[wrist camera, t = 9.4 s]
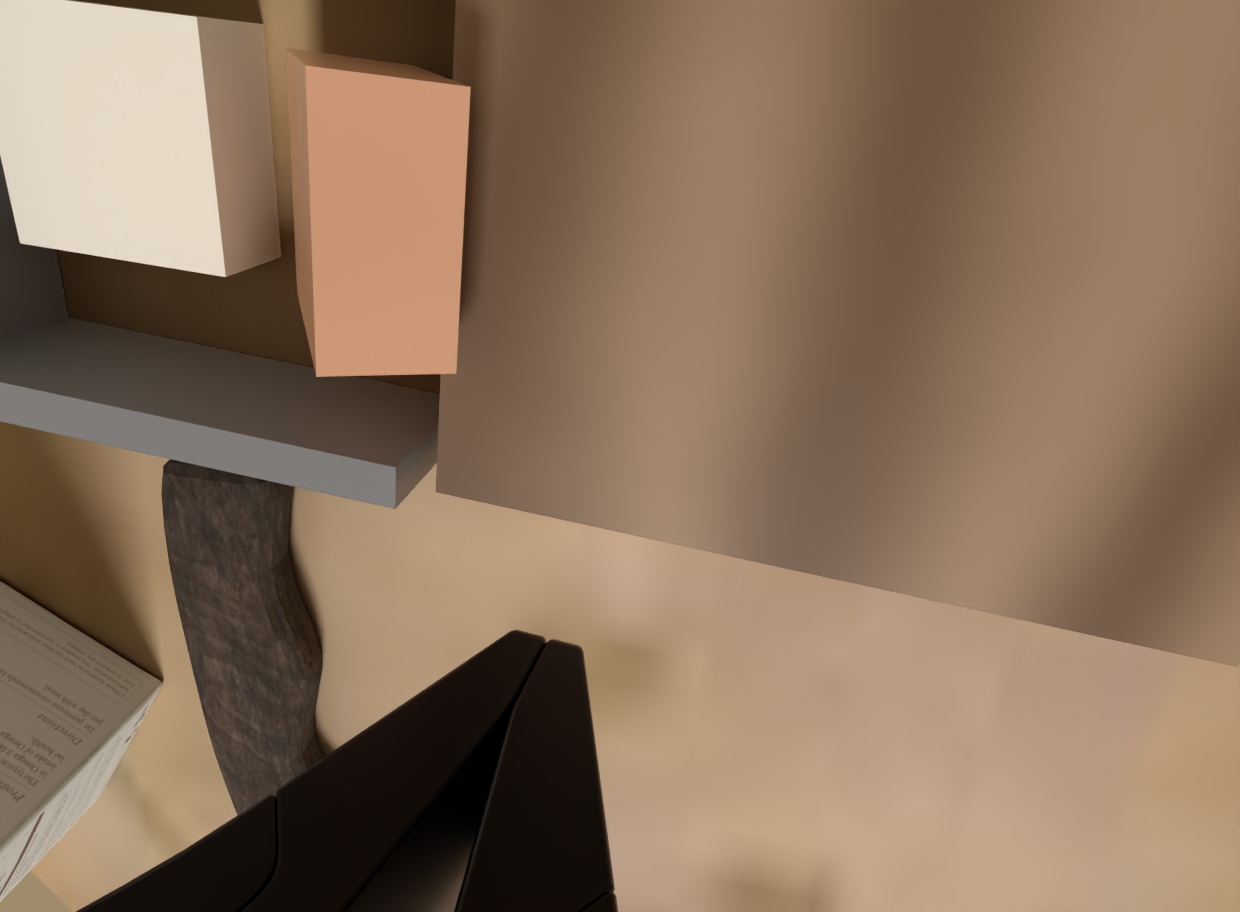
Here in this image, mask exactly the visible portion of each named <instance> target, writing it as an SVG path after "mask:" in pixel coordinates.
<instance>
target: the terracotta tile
mask: <svg viewBox="0 0 1240 912" xmlns="http://www.w3.org/2000/svg"><path fill="white" fill-rule="evenodd" d="M286 56H287V78H288V101H289V123H290V146H291V168H292V190H293V213H294V235H295V258H296V280H297V295H298V299H299V303H300V308H301V312H302V316H303V321H304V325H305V330H306V334H307V338H308V343H309V347H310V351H311V356H312V360H313V365H314V369H315V373H316V377H325V376H370V375H416V374H456V369H457V349H458V329H459V309H460V289H461V269H462V249H463V229H464V209H465V189H466V169H467V149H468V129H469V109H470V89H471V87H470V86H467V85H464V84H462V83H459V82H456V81H454V80H451V79H448V78H446V77H443V76H440V75H438V74H435V73H432V72H430V71H427V70H424V69H422V68H419V67H416V66H414V65H407V64H400V63H392V62H385V61H378V60H370V59H363V58H356V57H348V56H341V55H334V54H326V53H319V52H312V51H304V50H297V49H290V48H286Z"/></svg>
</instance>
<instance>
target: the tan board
mask: <svg viewBox="0 0 1240 912" xmlns="http://www.w3.org/2000/svg"><path fill="white" fill-rule="evenodd" d="M452 80H454V81H456V82H459V83H462V84H464V85H467V86H470V87H471V89H470V109H469V129H468V149H467V169H466V189H465V209H464V229H463V249H462V269H461V289H460V309H459V329H458V349H457V369H456V374H441V376H440V400H439V425H438V450H437V475H436V492H438V493H442V494H447V495H452V496H456V497H461V498H465V499H470V500H475V501H479V502H484V503H488V504H493V505H497V506H502V507H507V508H511V509H516V510H520V511H525V512H530V513H534V514H539V515H543V516H548V517H552V518H557V519H562V520H566V521H571V522H575V523H580V524H585V525H589V526H594V527H598V528H603V529H607V530H612V531H617V532H621V533H626V534H630V535H635V536H640V537H644V538H649V539H653V540H658V541H663V542H667V543H672V544H676V545H681V546H685V547H690V548H695V549H699V550H704V551H708V552H713V553H718V554H722V555H727V556H731V557H736V558H740V559H745V560H750V561H754V562H759V563H763V564H768V565H773V566H777V567H782V568H786V569H791V570H795V571H800V572H805V573H809V574H814V575H818V576H823V577H828V578H832V579H837V580H841V581H846V582H851V583H855V584H860V585H864V586H869V587H873V588H878V589H883V590H887V591H892V592H896V593H901V594H906V595H910V596H915V597H919V598H924V599H928V600H933V601H938V602H942V603H947V604H951V605H956V606H961V607H965V608H970V609H974V610H979V611H983V612H988V613H993V614H997V615H1002V616H1006V617H1011V618H1016V619H1020V620H1025V621H1029V622H1034V623H1039V624H1043V625H1048V626H1052V627H1057V628H1061V629H1066V630H1071V631H1075V632H1080V633H1084V634H1089V635H1094V636H1098V637H1103V638H1107V639H1112V640H1116V641H1121V642H1126V643H1130V644H1135V645H1139V646H1144V647H1149V648H1153V649H1158V650H1162V651H1167V652H1171V653H1176V654H1181V655H1185V656H1190V657H1194V658H1199V659H1204V660H1208V661H1213V662H1217V663H1222V664H1227V665H1231V666H1236V667H1238V665H1239V664H1240V0H456V5H455V29H454V54H453V79H452Z"/></svg>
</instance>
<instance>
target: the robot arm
mask: <svg viewBox="0 0 1240 912" xmlns="http://www.w3.org/2000/svg"><path fill="white" fill-rule="evenodd" d="M76 912H618V907H617V900H616V895H615V894H614V880H613V873H612V865H611V857H610V850H609V842H608V835H607V827H606V820H605V812H604V805H603V797H602V789H601V782H600V774H599V767H598V759H597V752H596V744H595V736H594V729H593V721H592V714H591V706H590V699H589V691H588V683H587V676H586V668H585V661H584V653H583V650H582V648H581V647H580V646H578V645H575V644H571V643H567V642H563V641H559V640H555V639H552V640H549V641H548V642H547V641H546V639H545V638H544V637H543V636H539V635H536V634H532V633H528V632H524V631H520V630H514V631H511V632H509V633H507V634H506V635H504V636H503V637H501V638H500V639H498V640H497V641H495V642H494V643H493V644H491V645H490V646H488V647H487V648H485V649H484V650H482V651H481V652H479V653H478V654H476V655H475V656H473V657H472V658H470V659H469V660H467V661H466V662H464V663H463V664H461V665H460V666H459V667H457V668H456V669H454V670H453V671H451V672H450V673H448V674H447V675H445V676H444V677H442V678H441V679H439V680H438V681H436V682H435V683H433V684H432V685H430V686H429V687H427V688H426V689H425V690H423V691H422V692H420V693H419V694H417V695H416V696H414V697H413V698H411V699H410V700H408V701H407V702H405V703H404V704H402V705H401V706H399V707H398V708H396V709H395V710H393V711H392V712H391V713H389V714H388V715H386V716H385V717H383V718H382V719H380V720H379V721H377V722H376V723H374V724H373V725H371V726H370V727H368V728H367V729H365V730H364V731H362V732H361V733H359V734H358V735H357V736H355V737H354V738H352V739H351V740H349V741H348V742H346V743H345V744H343V745H342V746H340V747H339V748H337V749H336V750H334V751H333V752H331V753H330V754H328V755H327V756H325V757H324V758H323V759H321V760H320V761H318V762H317V763H315V764H314V765H312V766H311V767H309V768H308V769H306V770H305V771H303V772H302V773H300V774H299V775H297V776H296V777H294V778H293V779H291V780H290V781H289V782H287V783H286V784H284V785H283V786H281V787H280V788H278V789H277V790H276V798H275V796H274V795H273V794H269V795H267V796H266V797H264V798H263V799H261V800H260V801H258V802H257V803H255V804H254V805H253V806H251V807H250V808H248V809H247V810H245V811H244V812H242V813H241V814H239V815H238V816H236V817H235V818H233V819H232V820H230V821H228V822H227V823H225V824H224V825H222V826H221V827H219V828H218V829H216V830H214V831H213V832H211V833H210V834H208V835H207V836H205V837H203V838H202V839H200V840H199V841H197V842H196V843H194V844H193V845H191V846H189V847H188V848H186V849H185V850H183V851H181V852H180V853H178V854H176V855H174V856H173V857H171V858H169V859H168V860H166V861H164V862H162V863H161V864H159V865H157V866H156V867H154V868H152V869H150V870H149V871H147V872H145V873H144V874H142V875H140V876H138V877H137V878H135V879H133V880H132V881H130V882H128V883H126V884H125V885H123V886H121V887H119V888H118V889H116V890H114V891H112V892H110V893H109V894H107V895H105V896H103V897H101V898H100V899H98V900H96V901H94V902H92V903H91V904H89V905H87V906H85V907H83V908H82V909H80V910H78V911H76Z"/></svg>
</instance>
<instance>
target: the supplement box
mask: <svg viewBox="0 0 1240 912" xmlns="http://www.w3.org/2000/svg"><path fill="white" fill-rule="evenodd" d="M161 687H162V682H161V681H160V680H158V679H157V678H155V677H153V676H151V675H150V674H148V673H146V672H145V671H143V670H141V669H140V668H138V667H137V666H135V665H133V664H132V663H130V662H128V661H127V660H125V659H124V658H122V657H120V656H119V655H117V654H116V653H114V652H112V651H111V650H109V649H108V648H106V647H104V646H103V645H101V644H100V643H98V642H96V641H95V640H93V639H92V638H90V637H88V636H87V635H85V634H83V633H82V632H80V631H79V630H77V629H75V628H74V627H72V626H71V625H69V624H68V623H66V622H64V621H63V620H61V619H60V618H58V617H56V616H55V615H53V614H52V613H50V612H49V611H47V610H45V609H44V608H42V607H41V606H39V605H37V604H36V603H34V602H33V601H31V600H29V599H28V598H26V597H25V596H23V595H22V594H20V593H18V592H17V591H15V590H14V589H12V588H11V587H9V586H7V585H6V584H4V583H3V582H1V581H0V902H1V900H2V899H3V898H4V897H5V896H6V895H7V894H8V893H9V892H10V891H11V890H12V889H13V888H14V887H15V886H16V885H17V884H18V883H19V882H20V880H22V878H23V877H24V876H25V875H26V874H27V873H28V872H29V871H30V870H31V869H32V868H33V867H34V866H35V865H36V864H37V863H38V862H39V861H40V860H41V859H42V858H43V857H44V856H45V855H46V853H47V852H48V851H49V850H50V849H51V848H52V847H53V846H54V845H55V844H56V843H57V842H58V841H59V840H60V839H61V838H62V837H63V836H64V835H65V834H66V833H67V832H68V831H69V829H70V828H71V827H72V826H73V825H74V824H75V823H76V822H77V821H78V820H79V819H80V818H81V817H82V816H83V815H84V813H85V812H86V811H87V810H88V809H89V808H90V807H91V806H92V805H93V804H94V803H95V801H96V800H97V799H98V798H99V797H100V796H101V794H102V793H103V791H104V789H105V787H106V785H107V783H108V781H109V780H110V778H111V776H112V774H113V772H114V771H115V769H116V767H117V765H118V763H119V762H120V760H121V758H122V756H123V754H124V753H125V751H126V749H127V747H128V746H129V744H130V742H131V740H132V739H133V737H134V735H135V733H136V732H137V730H138V728H139V726H140V724H141V723H142V721H143V719H144V717H145V716H146V714H147V712H148V710H149V708H150V707H151V705H152V703H153V701H154V699H155V697H156V696H157V694H158V692H159V690H160V688H161Z"/></svg>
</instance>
